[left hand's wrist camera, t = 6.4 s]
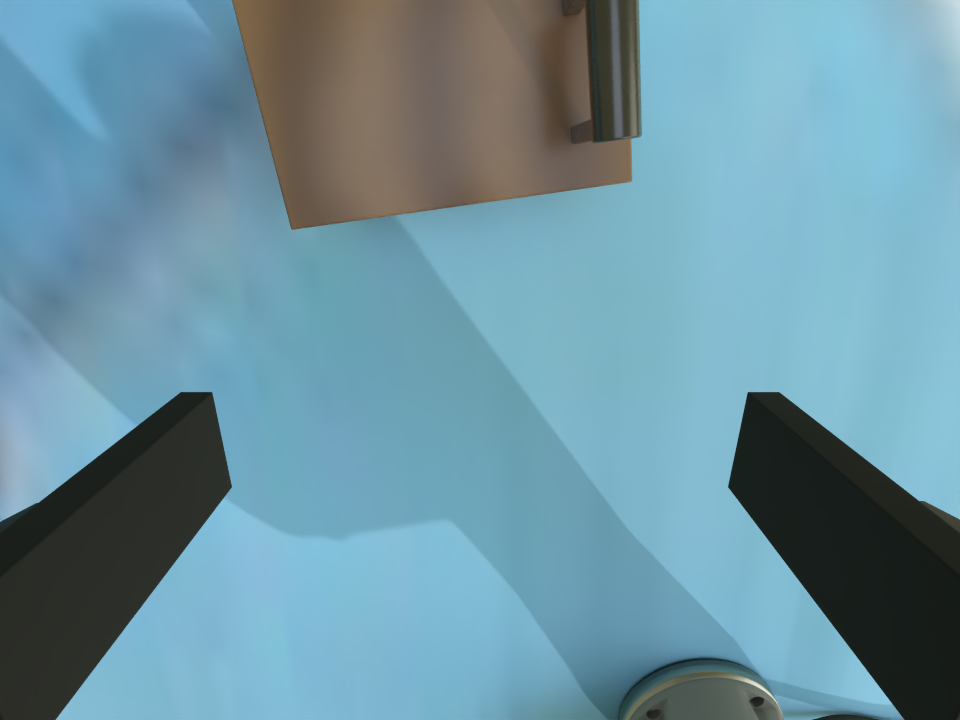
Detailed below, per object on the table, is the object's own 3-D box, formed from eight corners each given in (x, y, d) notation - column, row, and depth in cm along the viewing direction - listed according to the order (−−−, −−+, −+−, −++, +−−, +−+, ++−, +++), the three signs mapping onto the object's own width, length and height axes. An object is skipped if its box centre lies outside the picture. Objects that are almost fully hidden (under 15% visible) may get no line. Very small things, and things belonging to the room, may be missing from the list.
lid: (618, -62, 21) (701, -196, 13) (626, 180, 24) (696, 188, 16) (240, 0, 21) (106, -92, 14) (298, 227, 25) (216, 255, 17)
